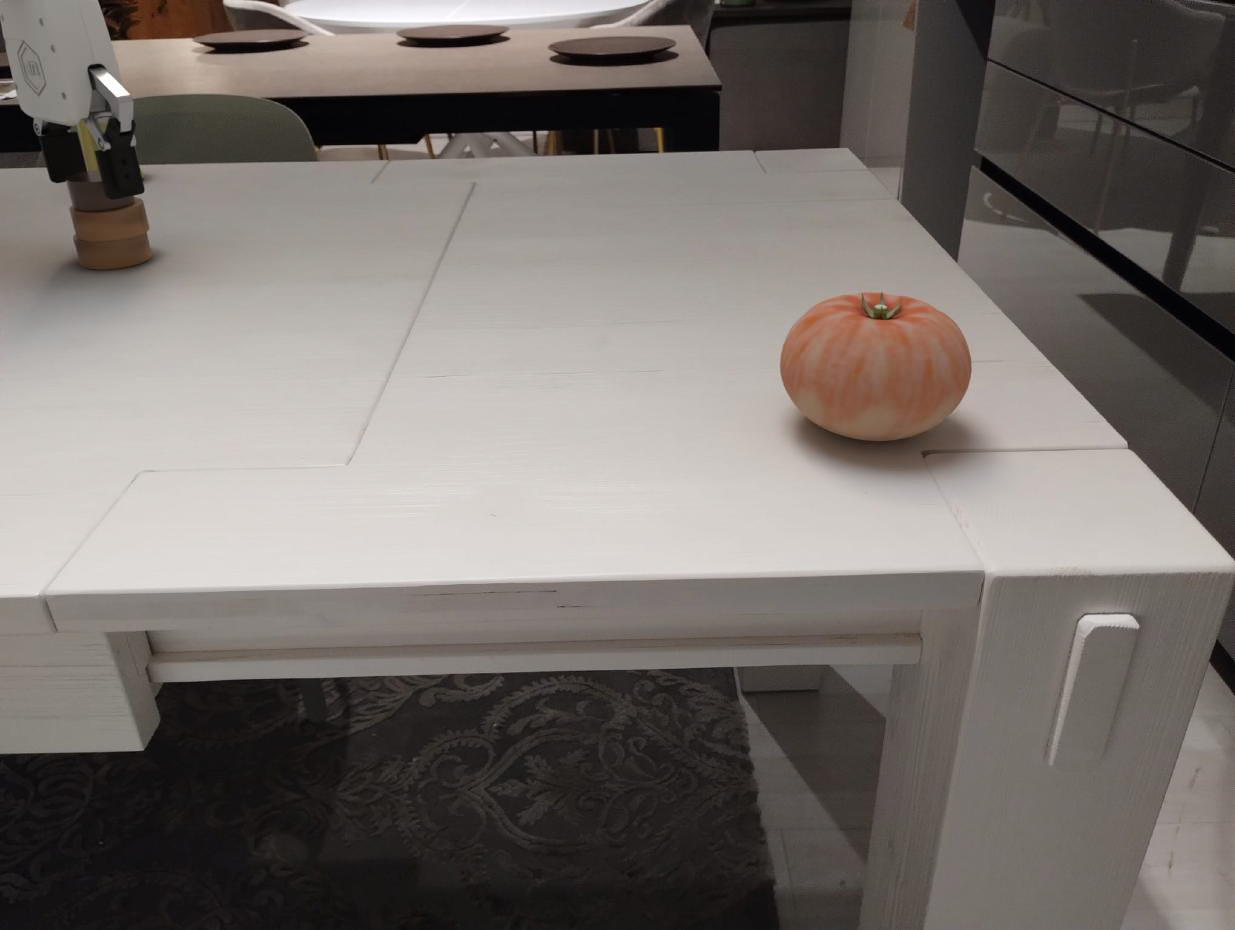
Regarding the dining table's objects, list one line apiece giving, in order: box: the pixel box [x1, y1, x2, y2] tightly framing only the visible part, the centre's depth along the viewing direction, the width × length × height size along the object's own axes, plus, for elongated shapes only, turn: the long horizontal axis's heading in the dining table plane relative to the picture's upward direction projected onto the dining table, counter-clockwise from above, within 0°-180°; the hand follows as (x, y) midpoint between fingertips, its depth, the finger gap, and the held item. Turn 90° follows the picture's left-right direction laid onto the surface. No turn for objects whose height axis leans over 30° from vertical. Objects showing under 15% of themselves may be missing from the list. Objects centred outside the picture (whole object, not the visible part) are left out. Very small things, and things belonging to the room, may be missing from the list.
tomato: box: [779, 291, 973, 442], centre depth 59 cm, size 11×11×8 cm
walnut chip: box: [65, 170, 135, 212], centre depth 89 cm, size 5×5×2 cm
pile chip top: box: [68, 196, 150, 242], centre depth 90 cm, size 6×6×2 cm
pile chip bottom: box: [72, 231, 153, 271], centre depth 91 cm, size 6×6×2 cm
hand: (97, 187), depth 89 cm, fingers open, 9 cm apart
